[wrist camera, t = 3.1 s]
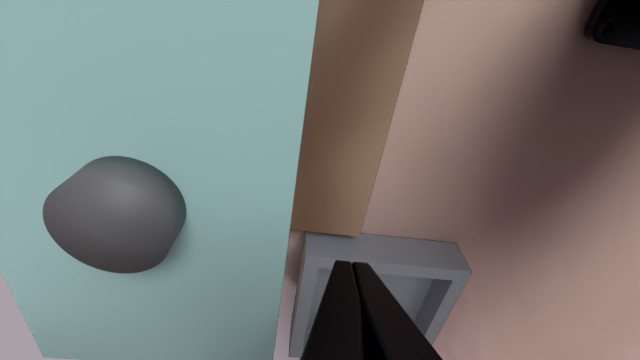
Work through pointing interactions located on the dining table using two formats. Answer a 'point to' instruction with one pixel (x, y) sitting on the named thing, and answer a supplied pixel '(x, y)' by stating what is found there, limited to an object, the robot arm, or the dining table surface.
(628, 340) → the dining table surface
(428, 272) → the slate tray
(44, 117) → the teal lid
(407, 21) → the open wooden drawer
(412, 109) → the dining table surface
